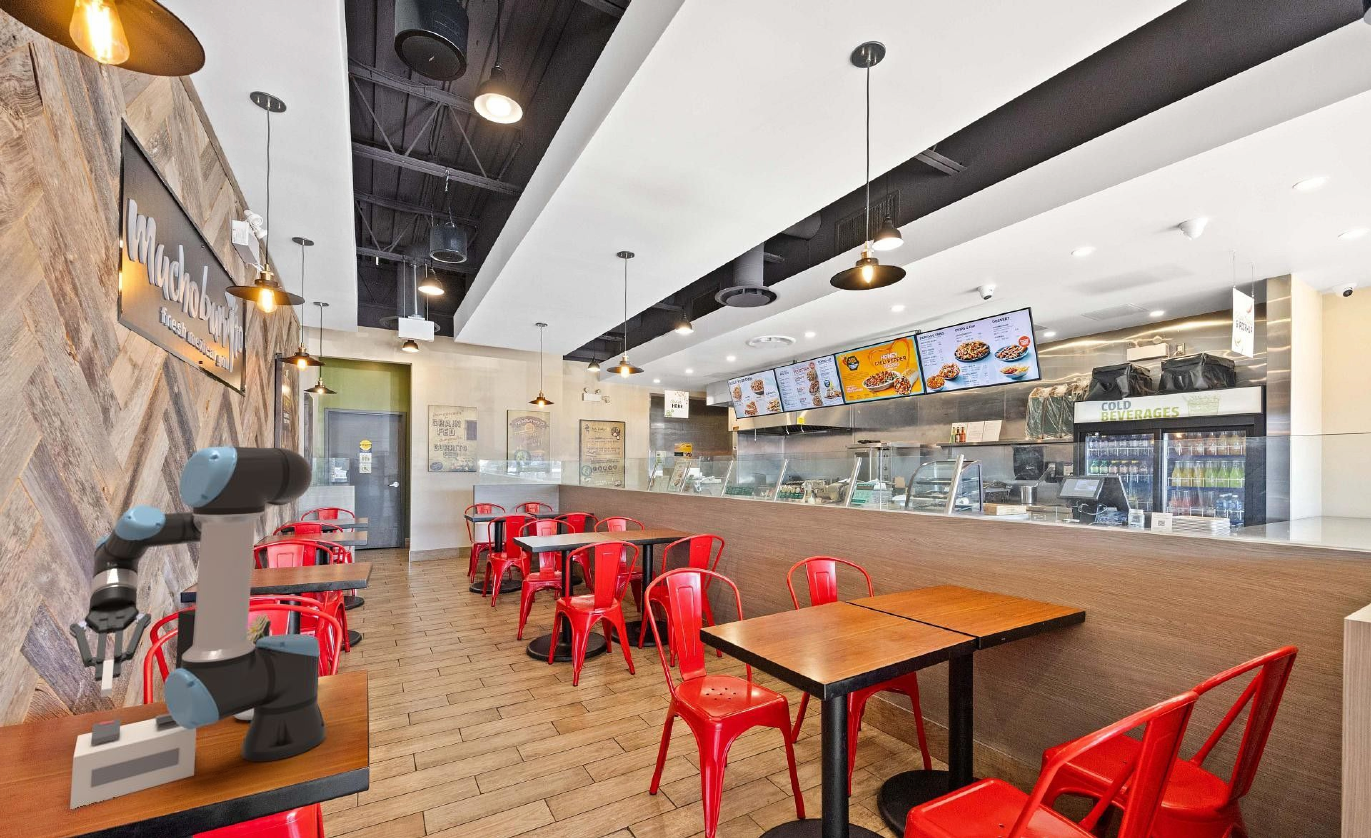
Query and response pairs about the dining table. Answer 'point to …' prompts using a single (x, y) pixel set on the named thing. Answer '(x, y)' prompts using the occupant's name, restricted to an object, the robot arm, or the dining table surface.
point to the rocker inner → (163, 718)
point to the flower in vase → (253, 634)
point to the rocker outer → (105, 731)
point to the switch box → (131, 761)
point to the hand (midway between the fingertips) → (106, 692)
